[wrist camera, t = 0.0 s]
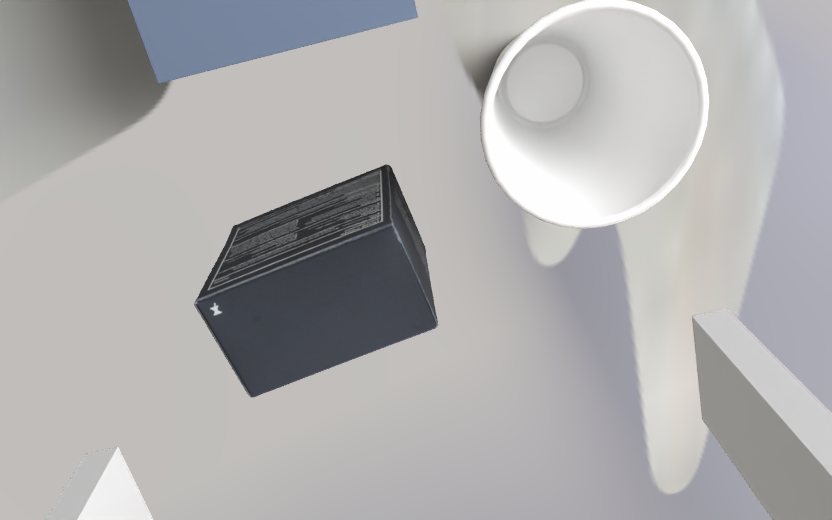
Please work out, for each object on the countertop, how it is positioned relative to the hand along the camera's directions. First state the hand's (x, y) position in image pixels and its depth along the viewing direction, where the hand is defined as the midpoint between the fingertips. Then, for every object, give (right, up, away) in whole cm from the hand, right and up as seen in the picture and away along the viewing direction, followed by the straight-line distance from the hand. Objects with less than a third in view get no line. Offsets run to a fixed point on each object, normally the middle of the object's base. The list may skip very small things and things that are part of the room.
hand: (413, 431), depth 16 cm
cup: (+7, +14, +25) cm, 30 cm away
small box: (-5, +5, +28) cm, 29 cm away
